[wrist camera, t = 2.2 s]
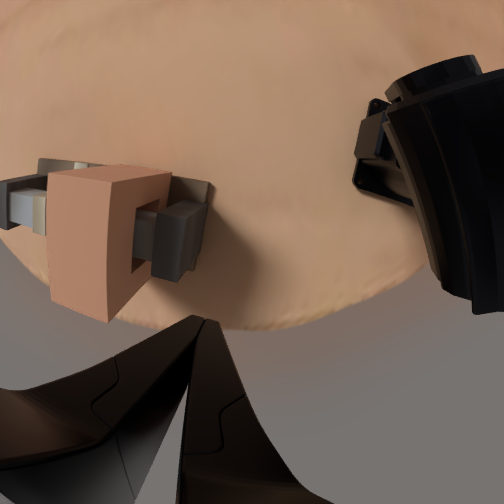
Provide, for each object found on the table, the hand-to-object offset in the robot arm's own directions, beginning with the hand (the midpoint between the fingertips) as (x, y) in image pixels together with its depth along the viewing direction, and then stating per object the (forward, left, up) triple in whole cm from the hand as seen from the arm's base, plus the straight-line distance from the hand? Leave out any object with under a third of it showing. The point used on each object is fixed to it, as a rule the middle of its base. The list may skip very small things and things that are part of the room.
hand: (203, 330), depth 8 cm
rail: (+11, 0, -12) cm, 16 cm away
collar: (+7, 0, -12) cm, 14 cm away
